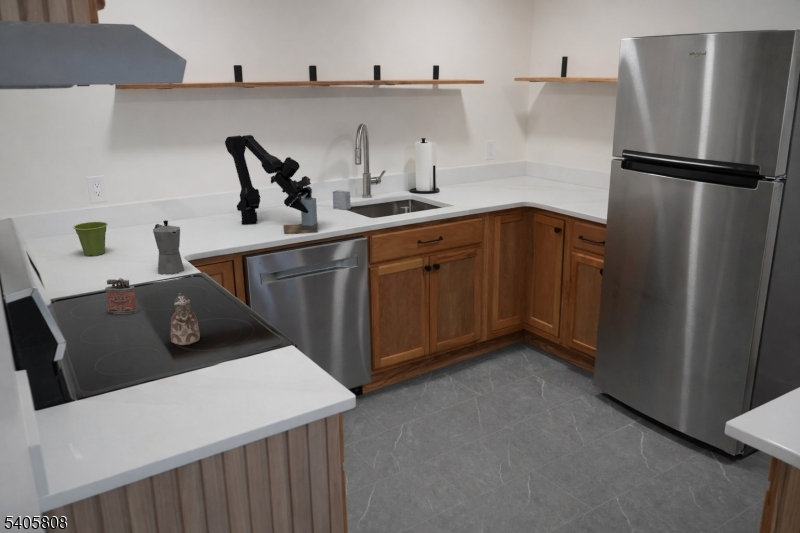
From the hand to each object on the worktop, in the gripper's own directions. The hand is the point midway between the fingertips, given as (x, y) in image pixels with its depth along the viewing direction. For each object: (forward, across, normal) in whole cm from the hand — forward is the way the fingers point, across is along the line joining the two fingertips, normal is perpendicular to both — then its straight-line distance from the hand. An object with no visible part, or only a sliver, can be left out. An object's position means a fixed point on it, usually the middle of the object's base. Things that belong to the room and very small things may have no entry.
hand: (312, 210), depth 280 cm
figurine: (+15, -118, -2) cm, 119 cm away
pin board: (+2, +1, +11) cm, 11 cm away
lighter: (-6, -104, +19) cm, 106 cm away
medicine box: (+4, +48, +9) cm, 49 cm away
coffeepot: (-13, -65, +26) cm, 71 cm away
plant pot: (-42, -53, +55) cm, 86 cm away
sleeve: (+5, 0, +7) cm, 8 cm away
